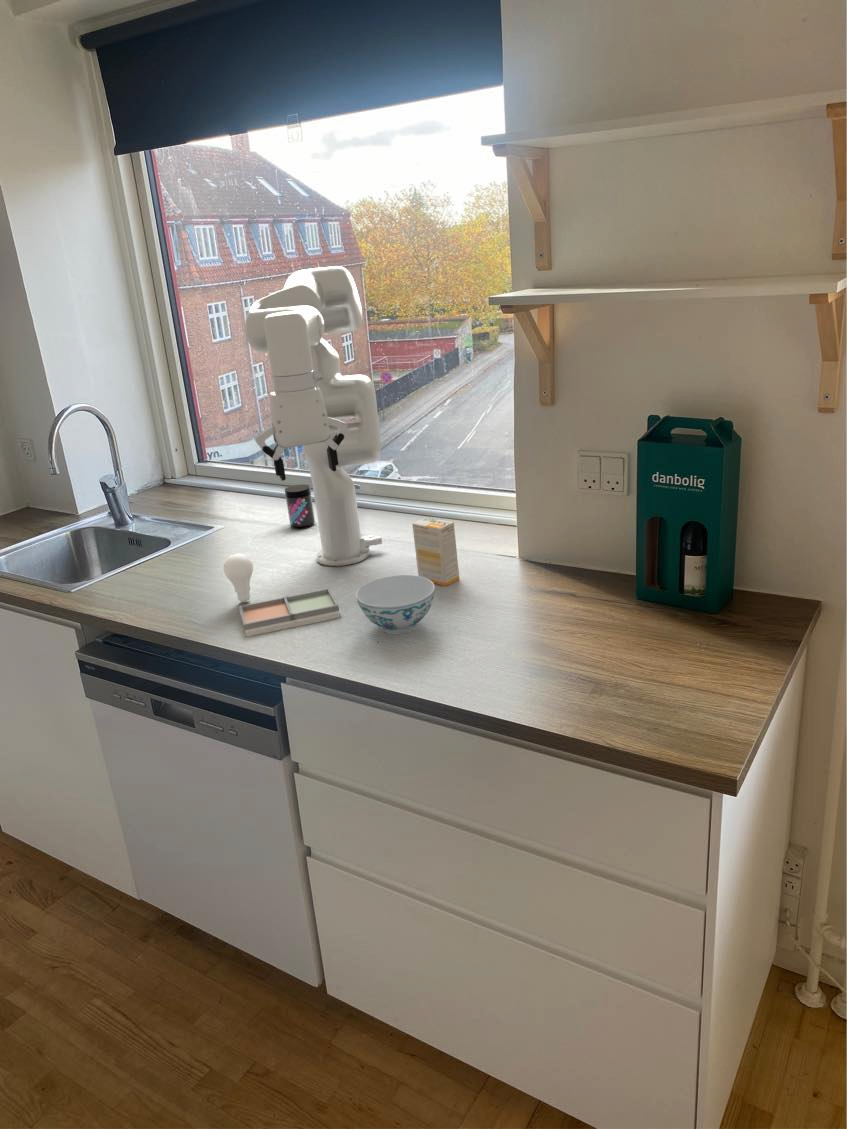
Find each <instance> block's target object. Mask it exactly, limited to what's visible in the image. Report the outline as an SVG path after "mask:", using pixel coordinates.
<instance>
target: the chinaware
mask: <svg viewBox="0 0 847 1129" xmlns="http://www.w3.org/2000/svg"><path fill="white" fill-rule="evenodd" d="M435 589H436V588H435V583H433V582H432V581H430V580H429V579H427V578H424V577H420V576H418V575H413V574H411V575H410V574H399V575H397V574H395V575H390V576H389V575H388V576H384V577H379V578H376V579H373V580H371V581H368V582H366V583H364V584H363V585H362V586H361V585H360V587H358V589H357V590H356V592H355V598H356V600H357V604H358V606H359V608H360V610H361V612H362V613H363V614H364V616H365V617H366V619H368V620H369V621H370V622H371V623H373V624H374V625H375V626H377V627H379V628H381V630H382V631H383V632H384V633H387V634H388V635H390V634H391V635H401V634H402V635H403V634H407V633H409V632H412V631H414V630H415V629H416V628H417V625H418V623H420V621H422V620H423V619H424V618H425V616H426V615H427V613H428V612H429V611H430V609H431V606H432V603H433V601H434V596H435Z"/></svg>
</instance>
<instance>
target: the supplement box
mask: <svg viewBox="0 0 847 1129" xmlns="http://www.w3.org/2000/svg"><path fill="white" fill-rule="evenodd" d="M412 531H413V532H412V534H413V539H414V541H413V542H414V551H415V558H416V565H417V568H416V569H417V574H418V575H417V576H420V577H424V578H427V579H429V580H430V581H432V582H433V584H437V585H440V586H444V587H447V586H449V585H451V584H453V583H456V582H457V581H459V580H460V571H459V562H458V560H459V559H458V550H457V540H456V539H457V538H456V530H455V522H454V521H449V520H443V519H438V518H433V517H432V518H431V517H424V518H422V519H419V520H417V521H415V522H412Z"/></svg>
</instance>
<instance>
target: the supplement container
mask: <svg viewBox="0 0 847 1129" xmlns="http://www.w3.org/2000/svg"><path fill="white" fill-rule="evenodd" d="M284 496H285V499H286V500H285V501H286V507H287V512H288V520H289V525H290V528H292V529H295V530H301V529H302V530H303V529H308V528H311V527H313V526H314V525H315V524H316V523H315V522H316V520H315V512H314V506H313V500H312V491H311V485H308V484H295V485H290V486H287V487H285V488H284Z"/></svg>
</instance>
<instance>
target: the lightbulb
mask: <svg viewBox="0 0 847 1129" xmlns="http://www.w3.org/2000/svg"><path fill="white" fill-rule="evenodd" d="M253 571H254V563H253V562H252V560H251V558H250V557H249V556H248V555H246V554H244V553H234V554H231V555H229V556H228V557H227V558H226V560H225V561H224V563H223V572H224V574H225V576H226V578H227V579H228V580H229V582H231V584H232V586H233V588H234V591H235V593H236V596H237V599H238V601H239V602H241V603H247V602H248V601H249V600H250V599H251V594H250V589H251V588H250V587H251V586H250V584H251V578H252V575H253Z"/></svg>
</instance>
